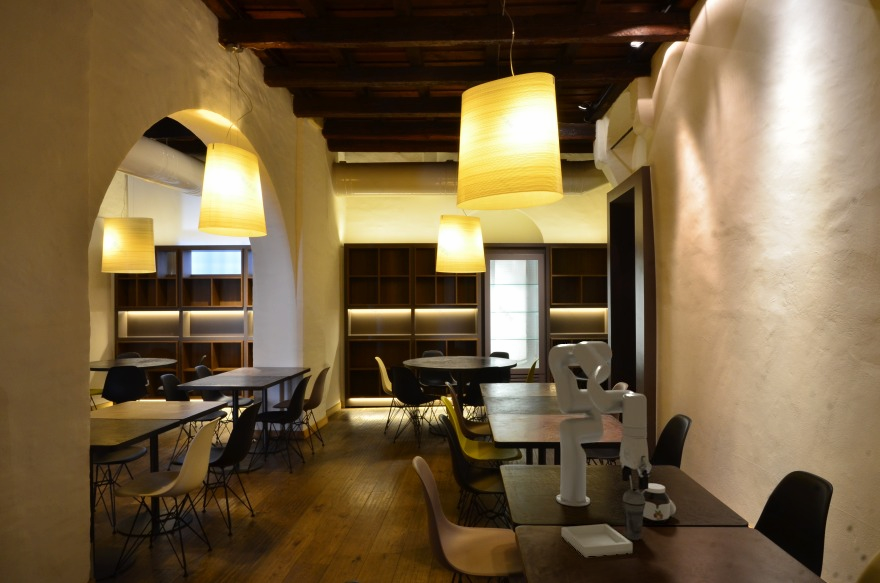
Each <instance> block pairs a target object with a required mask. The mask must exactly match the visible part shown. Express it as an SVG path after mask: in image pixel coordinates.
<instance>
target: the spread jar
mask: <svg viewBox="0 0 880 583" xmlns="http://www.w3.org/2000/svg"><path fill="white" fill-rule="evenodd" d="M641 493H642V494H643V496H644V498H645V508H644V512H643V520H645V521H648V522H649V521H650V522H649V523H653V522H656V523H655V524H662V523H661V522H663V523H664V522H667V520H668V519H669V518H670V517H672V516H673V515H674V514H675V513H676V511H677V510H676V509H677V507H676V504H675V503H674V501H672V500H671V499H670V497H669V495H668V494H667V493H666V486H664V484H663V485H662V484H659V483H650V482H648V489H643V491H641Z"/></svg>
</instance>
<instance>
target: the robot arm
mask: <svg viewBox="0 0 880 583" xmlns="http://www.w3.org/2000/svg"><path fill="white" fill-rule="evenodd" d="M612 352H613V351H612V348H611V347H610V345H609V344H608V343H607V342H604V341H599V340H598V341H594V340H593V341H581V342H577V343H567V344H566V343H565V344H557V345H555V346H552V348H550V351H549V353H548V359H547V360H548V367H549V369H550V372H551V375H552V377H553V380H554V388H555V393H556V399H557V404H558V405H557V406H558V409H559V411H560V413H561V414H563V415H569V416H571V415H572V416H573V415H583V417H571V418H565V419H563V420H561V422H560V423H559V424H558V427H557V429H558V430H557V431H558V438H559V443H560V486H559V489H560V490H559V491H560V494H558V495H556V497H555V499H556V501H557V502H558V503H559V504H561V505H565V506H568V507H584V506H588V505H589V504H591V500H590V498H589V497H588V496H587V454H586V452H585V450H584V447H582V445H581V444H587V443H588V444H589V443H596V442H600V441H601V440H602V439H603V437H604V433H605V432H604V424H603V423H604V422H603V418H602V414H618V413H619V414H620V413H622V434H621V440H620V449H619V450H620V451H619V461H620V464H621V465H620V466H621V469H622V471H621V480H622V482H630V476H629V475H631V480H632V479H633V477H632V476H633V475H632V473H633V471H632V470H637V472H638V478H637V479H638V480H637V482H638V484H637V486H638V490H639V491H642V490H643V491H644V490H645V489H648V484H649V477H650V475H651V470H652V466H653V465H652V464H651V463H650V461H649V447H648V441H647V438H648V431H647V430H648V428H647V427H648V425H647V424H648V421H647V420H648V417H647V415H648V414H647V411H648V410H647V409H648V408H647V404H648V403H647V402H648V401H647V397H646V395H645V394H643V393H637V392H634V391H632V390H630V389H614V390H613V389H611V390H604V389H603V388H602V386H601V385H600V384H602V383H603V382H605V381H606V380H607V379H608V378H609V376H610V375H611V367H610V365H609V364H608V363H610V361H611V360H612V357H613V353H612ZM577 366H579V367H580V368H581V370H582V371H583V373H584V374H585V375H586V377H587V378H588V380H587V381H586V389H585V388H584V389H582V388H581V389H579V387H578V382H577V377H576V376H575V374H574V373H573V371H572V369H571V368H569V367H577Z"/></svg>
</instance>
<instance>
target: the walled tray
mask: <svg viewBox="0 0 880 583" xmlns="http://www.w3.org/2000/svg"><path fill="white" fill-rule="evenodd" d="M561 536H562V537H563V538H564V540H565V542H567V543H568V542H569V543H570V544H571V545H572V546H573V547H574V548H575V549H576V551H577V550H578V551H579V552H580V553H581V554H582V555H583V556H584V557H585V558H589V557H588V556H596V557H604V556H603V555H607V556H617V555H616V554H618V555H626V553H628V554H633V547H634V546H633V545H634V544H633V542H632V541H631V540H630V539H629V538H627V537H625V536H623V535H622V534H621V533H619V532H618V531H617V530H615V528H613V527H611V525H609V524H608V523H602V524H591V525H590V524H588V525H575V526H574V525H573V526H566V527H565V526H564V527H563V526H562V527H561ZM562 537H561V538H562ZM563 538H562V539H563ZM569 543H568V544H569ZM570 544H569V545H570ZM571 545H570V546H571ZM572 546H571V547H572ZM573 547H572V548H573ZM574 548H573V549H574ZM575 549H574V550H575ZM578 551H577V552H578ZM579 552H578V553H579ZM580 553H579V554H580ZM581 554H580V555H581ZM582 555H581V556H582ZM583 556H582V557H583ZM584 557H583V558H584Z"/></svg>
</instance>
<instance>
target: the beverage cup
mask: <svg viewBox="0 0 880 583" xmlns="http://www.w3.org/2000/svg"><path fill="white" fill-rule="evenodd" d="M629 476H630V481H629V483H630V488H629V489H627V490H626V491H625V492H624V493H623V496H622V500H621V502H622V506H623V513H624V514H623V515H624V524H625V526H624V527H625V536H626V537H625V538H626V539H628V540H632V541H639V539H640V540H641V538H642V532H643V522H644V518H643V512H644V508H645V498H644V496H643V494H642V491H641V490H640V489H636V488H633V482H632V480H631V475H629Z"/></svg>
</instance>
